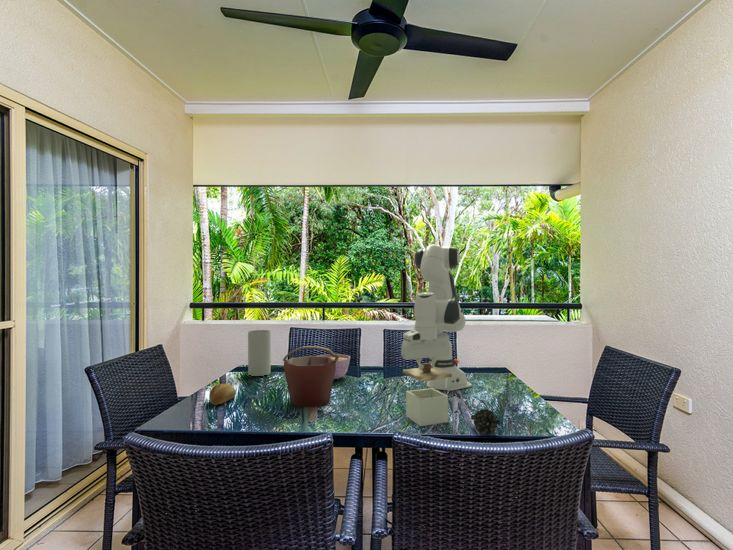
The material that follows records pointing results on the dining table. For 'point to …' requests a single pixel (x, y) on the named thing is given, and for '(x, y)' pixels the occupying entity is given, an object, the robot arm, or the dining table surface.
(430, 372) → the lid
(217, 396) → the bread roll
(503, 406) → the dining table surface
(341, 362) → the bowl of food
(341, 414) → the dining table surface
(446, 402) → the bin
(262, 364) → the cylinder vase
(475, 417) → the pine cone
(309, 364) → the bucket
